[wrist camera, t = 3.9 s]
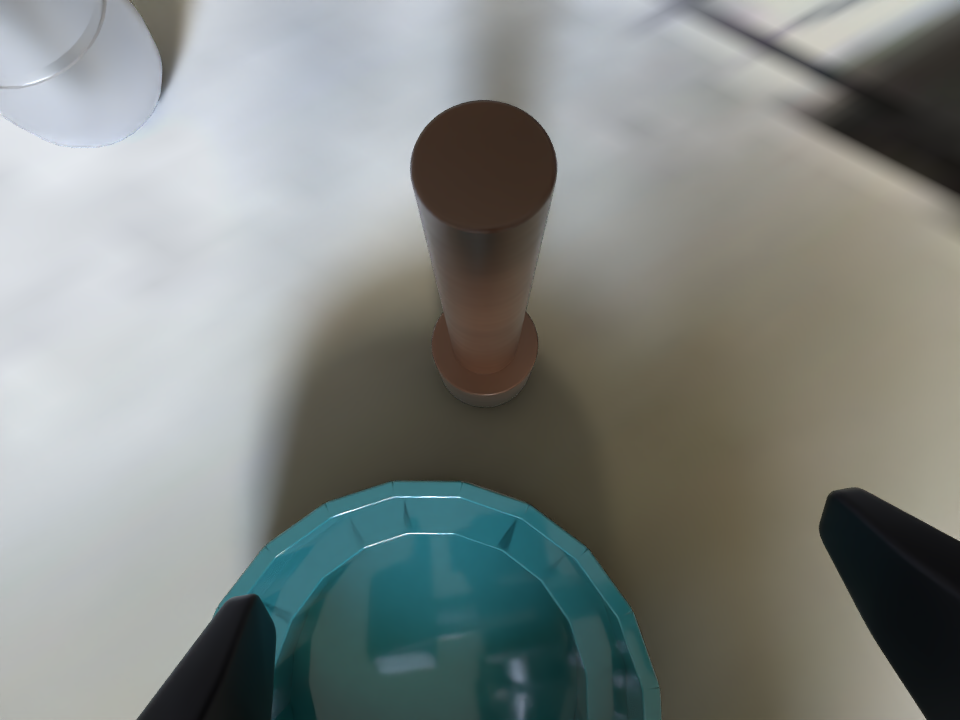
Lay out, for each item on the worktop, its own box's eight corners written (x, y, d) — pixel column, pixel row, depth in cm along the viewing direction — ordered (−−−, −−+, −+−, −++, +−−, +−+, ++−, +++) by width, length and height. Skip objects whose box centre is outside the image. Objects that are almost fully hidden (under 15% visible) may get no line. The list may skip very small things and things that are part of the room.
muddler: (543, 391, 22) (641, 235, 8) (454, 419, 22) (399, 309, 8) (514, 305, 23) (558, 30, 9) (427, 332, 22) (335, 94, 9)
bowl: (680, 813, 19) (740, 914, 14) (298, 953, 18) (238, 1105, 14) (551, 436, 21) (567, 423, 17) (213, 545, 21) (140, 561, 16)
